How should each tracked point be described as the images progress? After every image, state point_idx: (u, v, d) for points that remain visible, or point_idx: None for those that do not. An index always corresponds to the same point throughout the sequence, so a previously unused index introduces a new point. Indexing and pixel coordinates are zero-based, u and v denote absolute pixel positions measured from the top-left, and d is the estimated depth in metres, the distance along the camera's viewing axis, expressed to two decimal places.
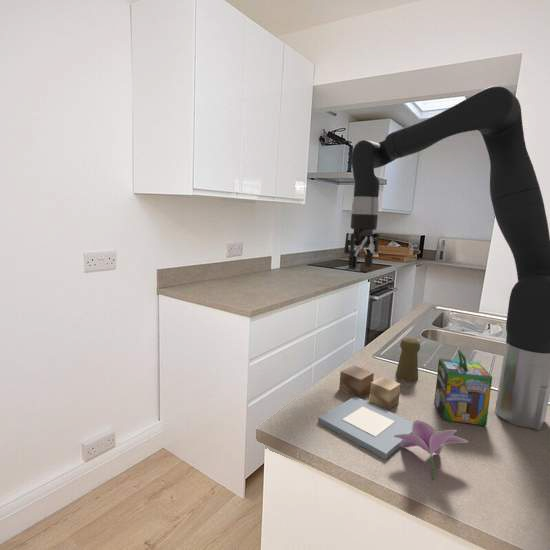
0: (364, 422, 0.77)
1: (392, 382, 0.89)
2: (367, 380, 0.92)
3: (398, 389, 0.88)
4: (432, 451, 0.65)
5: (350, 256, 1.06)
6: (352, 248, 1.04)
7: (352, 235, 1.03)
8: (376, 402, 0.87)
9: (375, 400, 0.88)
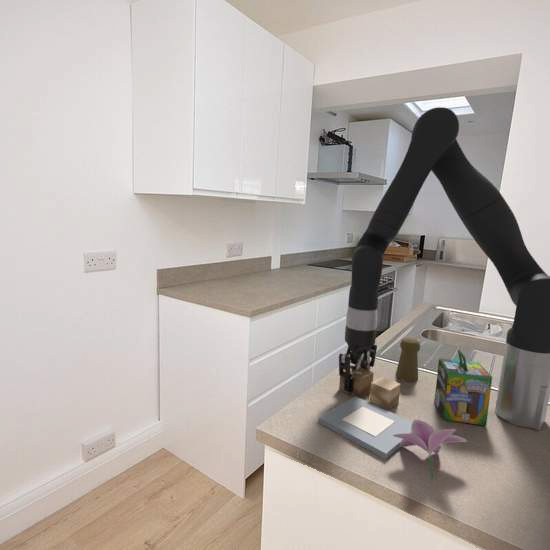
0: (364, 422, 0.77)
1: (392, 382, 0.88)
2: (367, 380, 0.92)
3: (398, 389, 0.88)
4: (431, 450, 0.65)
5: (346, 378, 0.91)
6: (348, 372, 0.88)
7: (346, 359, 0.87)
8: (376, 402, 0.87)
9: (375, 400, 0.88)
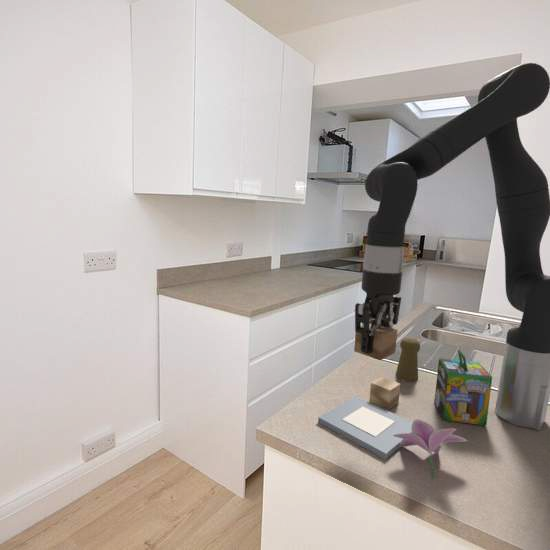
0: (364, 422, 0.77)
1: (392, 382, 0.89)
2: (390, 338, 0.73)
3: (398, 389, 0.88)
4: (431, 450, 0.65)
5: (364, 335, 0.72)
6: (366, 327, 0.70)
7: (364, 309, 0.69)
8: (376, 402, 0.87)
9: (375, 400, 0.88)
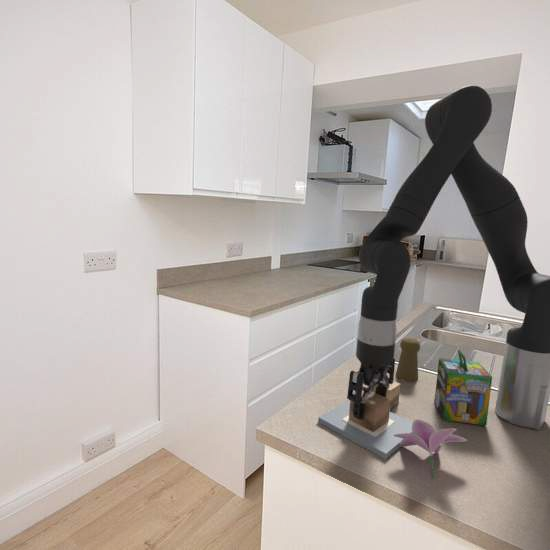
0: None
1: None
2: (383, 409, 0.76)
3: (398, 389, 0.88)
4: (432, 450, 0.65)
5: (355, 402, 0.73)
6: (359, 395, 0.71)
7: (359, 377, 0.71)
8: None
9: None
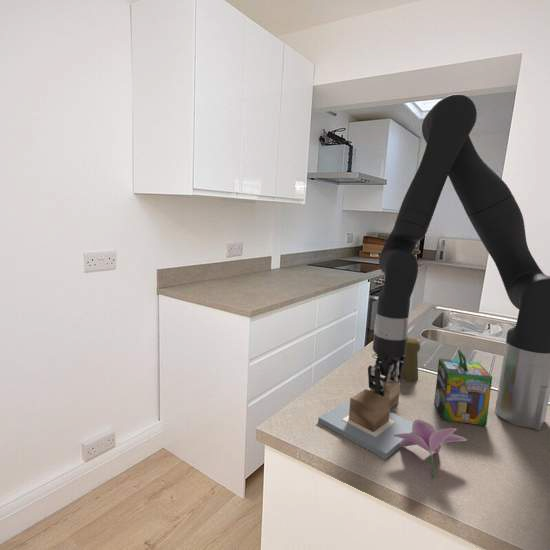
0: None
1: (392, 382, 0.89)
2: (383, 409, 0.76)
3: (398, 389, 0.88)
4: (432, 450, 0.65)
5: (376, 391, 0.85)
6: (378, 385, 0.83)
7: (376, 372, 0.82)
8: None
9: None
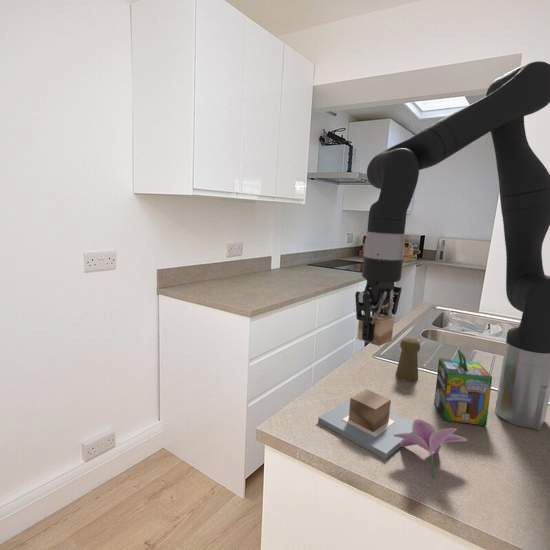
0: None
1: (384, 316, 0.75)
2: (383, 409, 0.76)
3: (391, 323, 0.74)
4: (432, 450, 0.65)
5: (365, 323, 0.72)
6: (367, 314, 0.70)
7: (365, 297, 0.69)
8: None
9: None
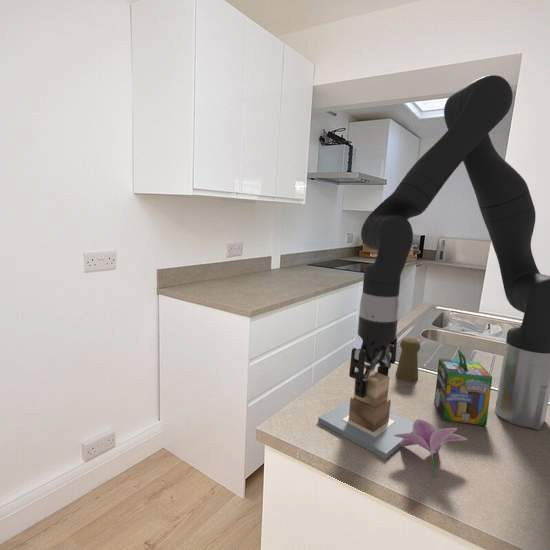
0: None
1: (380, 375, 0.77)
2: (383, 409, 0.76)
3: (387, 383, 0.76)
4: (432, 449, 0.65)
5: (358, 380, 0.73)
6: (361, 372, 0.70)
7: (361, 354, 0.70)
8: (361, 398, 0.76)
9: None
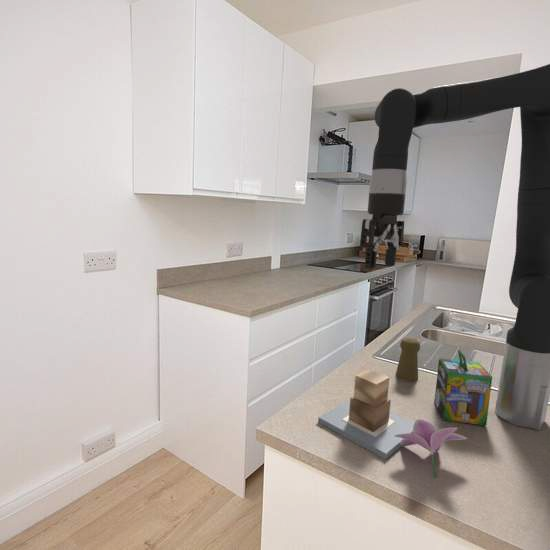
0: None
1: (380, 375, 0.77)
2: (383, 409, 0.76)
3: (387, 383, 0.76)
4: (433, 449, 0.66)
5: (368, 251, 0.77)
6: (371, 240, 0.75)
7: (371, 222, 0.75)
8: (361, 398, 0.76)
9: (360, 396, 0.76)
